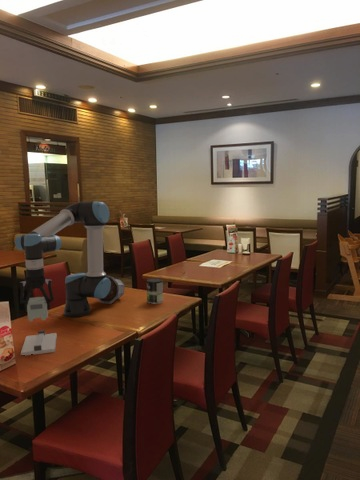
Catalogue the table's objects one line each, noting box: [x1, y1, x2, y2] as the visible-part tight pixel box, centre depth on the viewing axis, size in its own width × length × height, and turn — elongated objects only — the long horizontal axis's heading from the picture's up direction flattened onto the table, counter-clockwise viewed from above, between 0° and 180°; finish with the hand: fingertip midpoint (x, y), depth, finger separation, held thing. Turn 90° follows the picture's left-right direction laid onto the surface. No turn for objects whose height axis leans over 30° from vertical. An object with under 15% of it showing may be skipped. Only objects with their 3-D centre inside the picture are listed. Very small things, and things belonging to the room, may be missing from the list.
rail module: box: [28, 296, 47, 322], centre depth 178 cm, size 7×7×9 cm
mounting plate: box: [20, 329, 58, 356], centre depth 180 cm, size 14×20×4 cm
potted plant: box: [97, 275, 125, 305], centre depth 243 cm, size 18×18×30 cm
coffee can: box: [146, 277, 164, 305], centre depth 246 cm, size 10×10×14 cm
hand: (38, 317), depth 178 cm, fingers closed on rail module, 7 cm apart
